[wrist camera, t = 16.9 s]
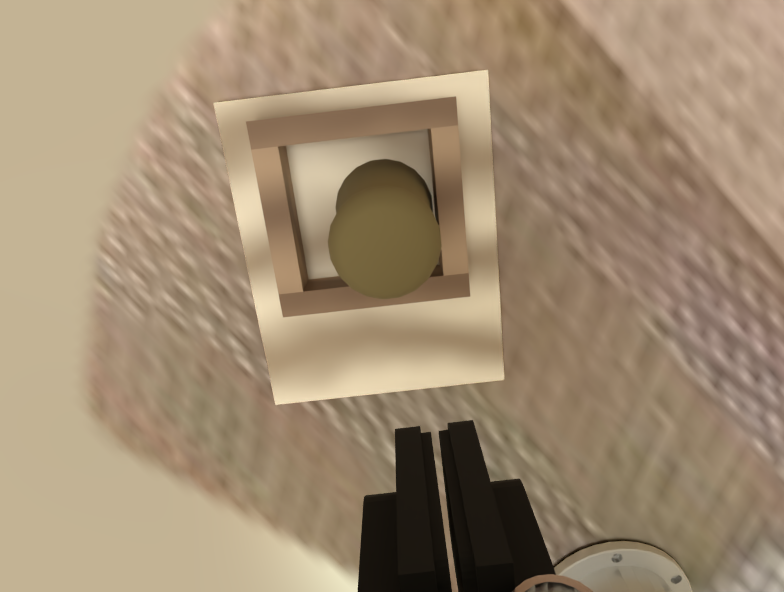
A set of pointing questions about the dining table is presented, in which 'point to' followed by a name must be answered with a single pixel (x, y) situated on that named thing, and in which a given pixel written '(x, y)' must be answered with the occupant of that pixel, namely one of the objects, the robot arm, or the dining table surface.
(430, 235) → the cork
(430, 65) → the dining table surface
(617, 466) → the dining table surface
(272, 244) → the socket stand
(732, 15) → the dining table surface
